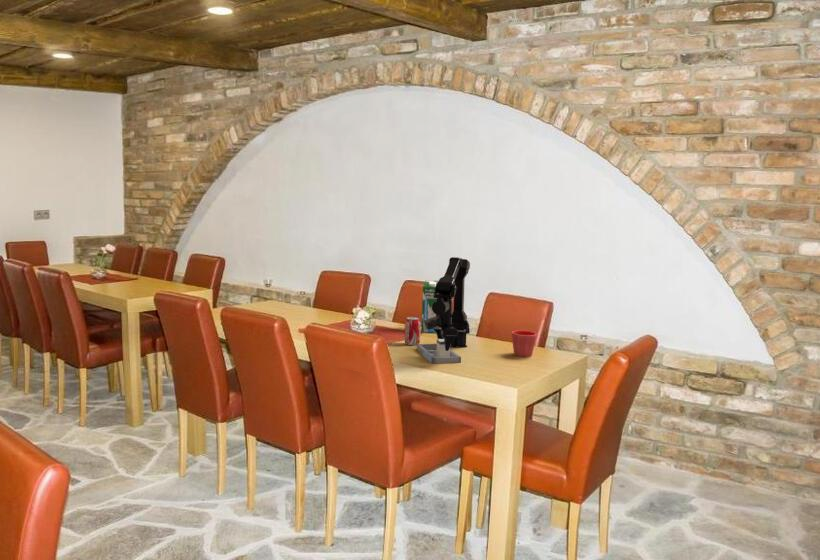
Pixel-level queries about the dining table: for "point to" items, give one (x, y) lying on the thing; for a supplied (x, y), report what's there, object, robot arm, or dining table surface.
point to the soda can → (412, 331)
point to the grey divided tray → (431, 353)
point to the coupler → (442, 349)
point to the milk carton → (428, 303)
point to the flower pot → (523, 342)
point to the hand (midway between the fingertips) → (443, 348)
